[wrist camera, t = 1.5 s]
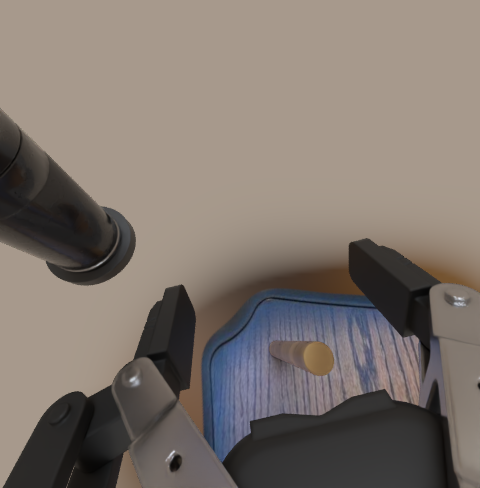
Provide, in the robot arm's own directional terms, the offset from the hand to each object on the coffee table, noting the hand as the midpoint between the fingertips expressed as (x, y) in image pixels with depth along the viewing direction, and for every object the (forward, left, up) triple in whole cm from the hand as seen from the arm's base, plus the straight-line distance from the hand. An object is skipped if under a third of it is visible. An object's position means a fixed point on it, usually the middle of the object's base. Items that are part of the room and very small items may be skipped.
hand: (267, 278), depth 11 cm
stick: (+5, -2, -22) cm, 22 cm away
